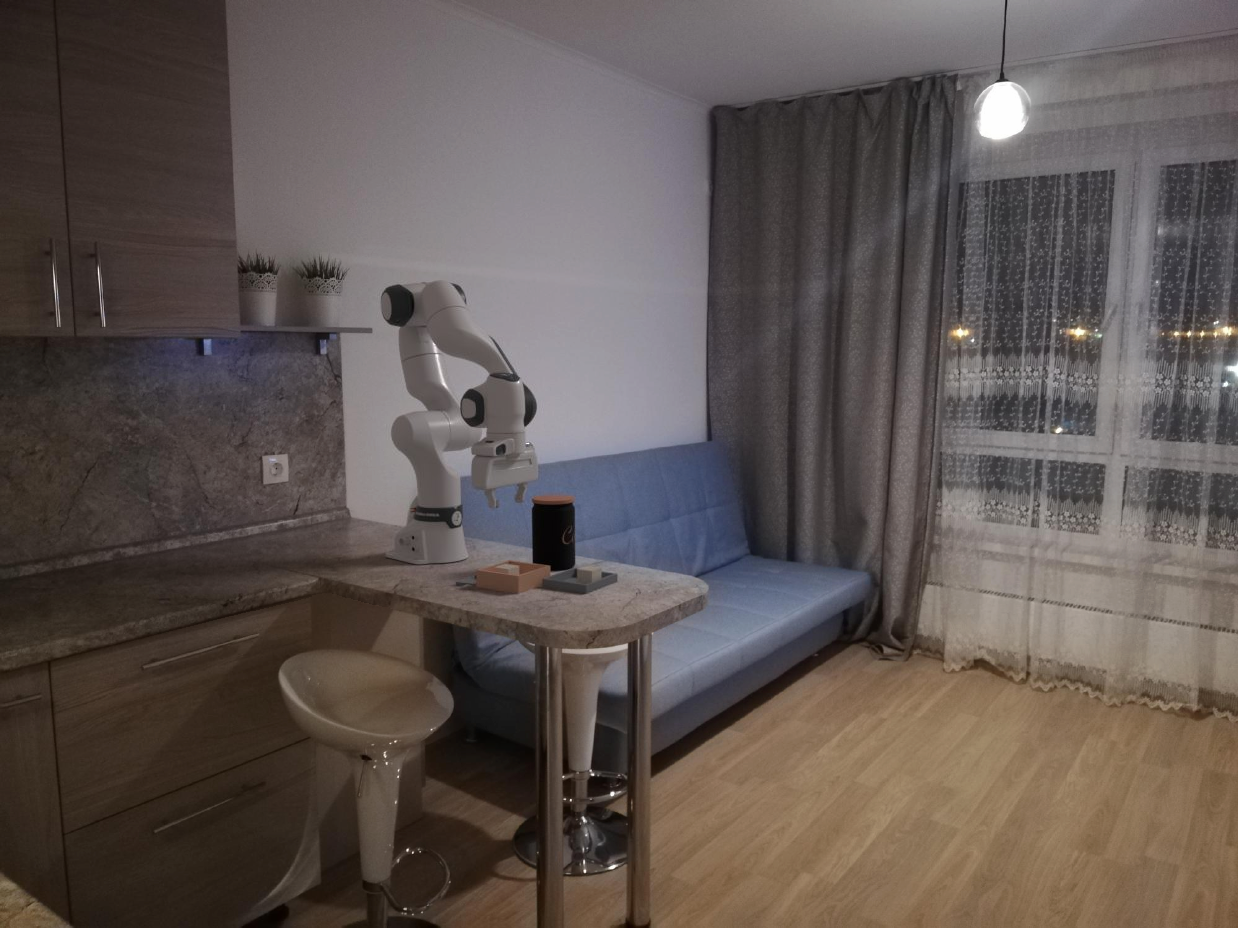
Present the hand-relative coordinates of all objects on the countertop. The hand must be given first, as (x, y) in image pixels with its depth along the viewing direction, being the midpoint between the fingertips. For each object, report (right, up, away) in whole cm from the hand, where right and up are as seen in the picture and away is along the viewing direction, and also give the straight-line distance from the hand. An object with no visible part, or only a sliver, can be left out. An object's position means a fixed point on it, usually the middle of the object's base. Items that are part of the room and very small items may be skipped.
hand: (506, 505), depth 210 cm
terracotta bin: (+2, -19, +1) cm, 19 cm away
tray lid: (-7, -18, +6) cm, 21 cm away
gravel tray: (+17, -19, +1) cm, 25 cm away
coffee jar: (+9, -17, +20) cm, 28 cm away
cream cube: (0, -18, +2) cm, 18 cm away
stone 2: (+19, -18, 0) cm, 26 cm away
